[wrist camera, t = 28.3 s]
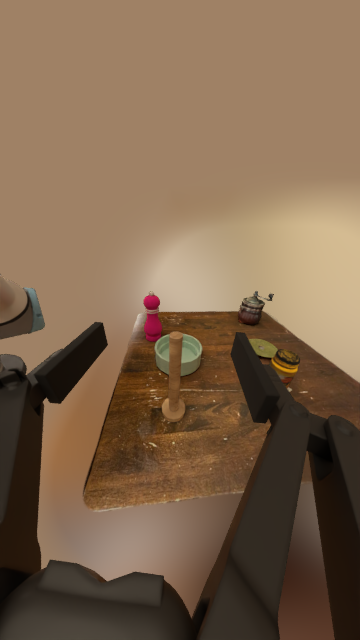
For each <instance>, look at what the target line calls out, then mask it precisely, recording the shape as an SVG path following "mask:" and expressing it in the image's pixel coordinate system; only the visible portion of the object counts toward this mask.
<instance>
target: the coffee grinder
mask: <svg viewBox="0 0 360 640" xmlns="http://www.w3.org/2000/svg"><path fill="white" fill-rule="evenodd" d="M257 293H258V291H256V292H255V294H254V296H253V297H249V298H244V299H243V301H242V305H241V306H240V310H239V313H238V316H239V322H241V323H246V324H248V325H255V324H257V322H258V321H259V320H260V318H261V312H262V311H261V310H262V309H263V307H264V305H265V303H264V302H263V301H262V300H259V299H258V298H257V297H260V296H258V294H257ZM273 295H274V294H269V297H270V299H266V298H263V299H266V300H268V301H272V297H273ZM260 298H262V297H260Z"/></svg>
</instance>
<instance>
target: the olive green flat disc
mask: <svg viewBox="0 0 360 640" xmlns="http://www.w3.org/2000/svg"><path fill="white" fill-rule="evenodd" d="M249 342H250V343H251V345H252V347H253V349H254V350H255V352H256V354H257V355H260V356H262V357H269V358H272V357H274V355H275V354H276V352H277V351H278V349H277V348H276V347H275V346H274V345H272V344H271V343H269V342H267V341H264V340H260V339H250V340H249Z"/></svg>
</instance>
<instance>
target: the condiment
mask: <svg viewBox="0 0 360 640" xmlns="http://www.w3.org/2000/svg"><path fill="white" fill-rule="evenodd" d="M299 363H300V358H299V357H298V356H297V355H296V354H295V353H293V352H292V351H289V350H285V349H280V350H278V351H277V352H276V354H275V355H274V357H273V358H272V359H271V361H270V364H269V365H270V366H271V367H272V368H273V369H274V370H275V371H276V372H277V374H278V376H279V377H280V379H281V380H282V382H283V383H284V385H285V386H286V388H287V390H288V391H289V392H290V391H291V390H292V389H291V388H289V387H288V386H289V385H290V383H291V381H292V379H293V377H294V376H295V374H296V372H297V370H298V368H297V367H298V364H299Z"/></svg>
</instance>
